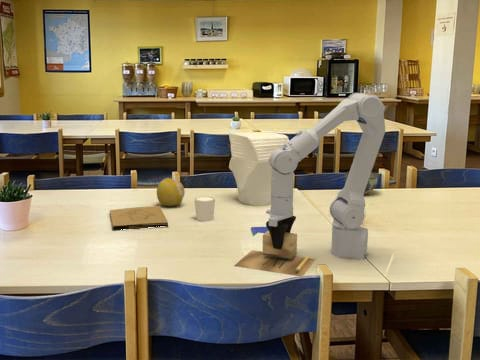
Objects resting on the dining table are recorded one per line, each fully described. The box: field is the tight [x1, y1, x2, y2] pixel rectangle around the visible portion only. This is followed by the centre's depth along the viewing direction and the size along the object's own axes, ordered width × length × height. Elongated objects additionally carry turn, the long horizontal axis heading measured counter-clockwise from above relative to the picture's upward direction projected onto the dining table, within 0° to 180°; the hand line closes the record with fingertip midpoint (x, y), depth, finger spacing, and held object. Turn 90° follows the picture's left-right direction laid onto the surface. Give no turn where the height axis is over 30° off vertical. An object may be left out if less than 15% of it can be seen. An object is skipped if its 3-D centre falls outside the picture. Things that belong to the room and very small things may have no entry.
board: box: [233, 249, 317, 277], centre depth 142 cm, size 18×13×1 cm
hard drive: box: [250, 226, 268, 237], centre depth 167 cm, size 2×8×12 cm
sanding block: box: [262, 230, 298, 259], centre depth 144 cm, size 8×4×6 cm, turn 68°
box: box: [109, 205, 169, 232], centre depth 183 cm, size 21×18×2 cm
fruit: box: [156, 177, 185, 207], centre depth 201 cm, size 10×11×10 cm
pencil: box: [295, 255, 311, 273], centre depth 139 cm, size 11×1×1 cm, turn 158°
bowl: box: [344, 171, 380, 196], centre depth 221 cm, size 14×13×8 cm
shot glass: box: [194, 196, 216, 222], centre depth 184 cm, size 7×7×7 cm
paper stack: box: [228, 131, 291, 206], centre depth 206 cm, size 21×27×26 cm
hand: (280, 245), depth 144 cm, fingers closed on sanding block, 4 cm apart
